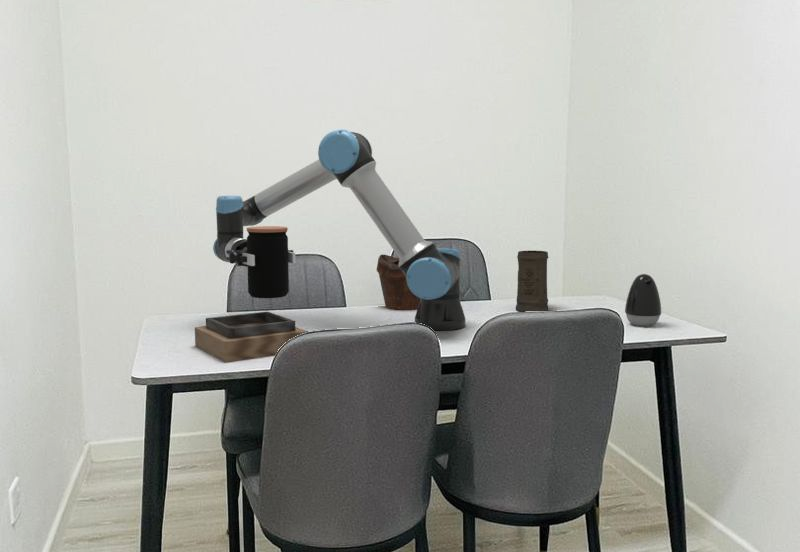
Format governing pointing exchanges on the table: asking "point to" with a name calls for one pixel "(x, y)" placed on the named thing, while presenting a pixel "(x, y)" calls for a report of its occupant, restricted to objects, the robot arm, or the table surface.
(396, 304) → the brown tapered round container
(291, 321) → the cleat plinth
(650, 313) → the black rounded piece
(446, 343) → the table surface
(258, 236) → the coffee jar
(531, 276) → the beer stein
